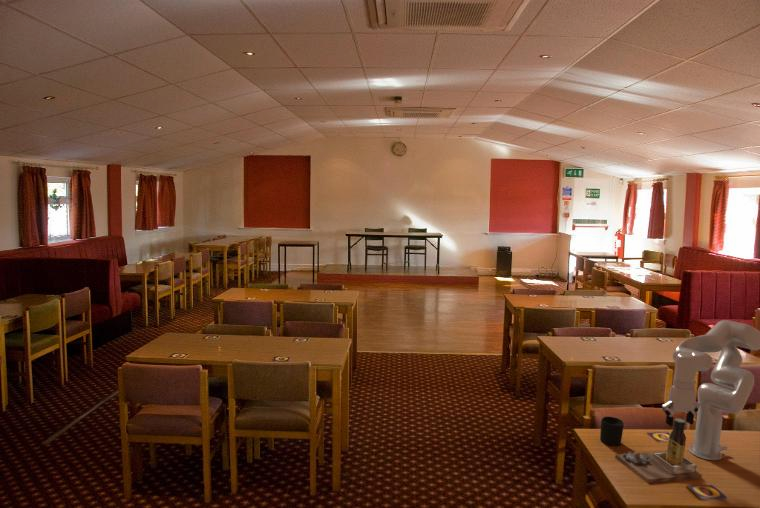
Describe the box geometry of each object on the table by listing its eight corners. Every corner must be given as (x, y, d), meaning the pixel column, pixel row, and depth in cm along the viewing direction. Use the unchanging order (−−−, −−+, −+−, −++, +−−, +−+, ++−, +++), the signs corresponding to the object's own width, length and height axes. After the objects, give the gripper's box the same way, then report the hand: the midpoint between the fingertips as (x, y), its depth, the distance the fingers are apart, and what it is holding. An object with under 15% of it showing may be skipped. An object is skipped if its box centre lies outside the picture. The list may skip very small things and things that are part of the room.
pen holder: (626, 445, 249) (628, 424, 248) (609, 447, 246) (611, 426, 244) (611, 436, 258) (613, 415, 256) (594, 438, 255) (596, 417, 253)
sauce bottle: (662, 462, 232) (666, 416, 229) (675, 461, 232) (680, 416, 230) (671, 470, 225) (677, 423, 223) (686, 469, 226) (691, 423, 224)
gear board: (665, 454, 242) (666, 444, 242) (701, 478, 223) (702, 467, 222) (615, 457, 236) (616, 447, 236) (647, 482, 217) (648, 471, 217)
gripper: (694, 379, 230) (690, 418, 232) (658, 381, 226) (654, 421, 229) (709, 386, 223) (704, 426, 225) (672, 388, 219) (667, 429, 221)
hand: (679, 424), depth 227 cm, fingers open, 9 cm apart
